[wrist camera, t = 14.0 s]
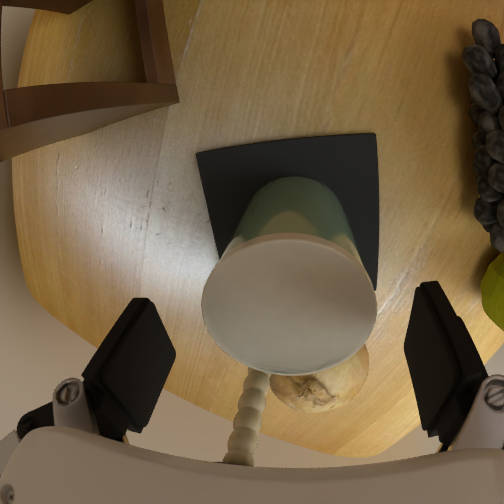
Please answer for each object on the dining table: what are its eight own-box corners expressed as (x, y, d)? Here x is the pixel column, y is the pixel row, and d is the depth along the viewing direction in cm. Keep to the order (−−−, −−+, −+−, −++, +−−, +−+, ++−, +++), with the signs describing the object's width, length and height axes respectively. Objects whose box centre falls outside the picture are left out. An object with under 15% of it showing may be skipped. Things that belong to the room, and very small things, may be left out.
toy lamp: (226, 323, 24) (157, 523, 9) (267, 294, 22) (212, 534, 7) (266, 355, 25) (228, 543, 10) (308, 331, 23) (290, 547, 8)
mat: (197, 152, 18) (195, 153, 17) (374, 133, 16) (376, 133, 15) (230, 296, 23) (229, 299, 22) (375, 287, 20) (376, 290, 20)
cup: (233, 181, 18) (180, 247, 10) (345, 170, 17) (382, 231, 9) (251, 275, 21) (222, 375, 13) (348, 268, 20) (369, 371, 12)
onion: (383, 334, 22) (398, 403, 16) (320, 380, 26) (318, 444, 20) (312, 285, 21) (312, 359, 15) (252, 343, 25) (236, 411, 19)
